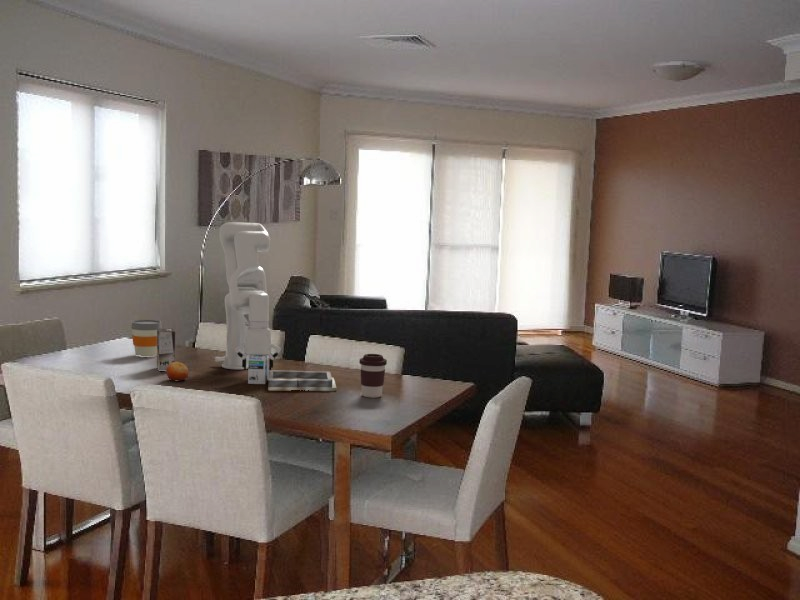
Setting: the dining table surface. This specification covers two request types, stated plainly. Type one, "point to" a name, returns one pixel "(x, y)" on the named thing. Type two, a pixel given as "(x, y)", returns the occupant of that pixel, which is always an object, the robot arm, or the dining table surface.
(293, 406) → the dining table surface
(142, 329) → the reusable coffee cup
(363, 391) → the coffee cup
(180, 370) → the fruit
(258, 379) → the light bulb box
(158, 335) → the coffee box
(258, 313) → the robot arm
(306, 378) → the gray shallow tray
